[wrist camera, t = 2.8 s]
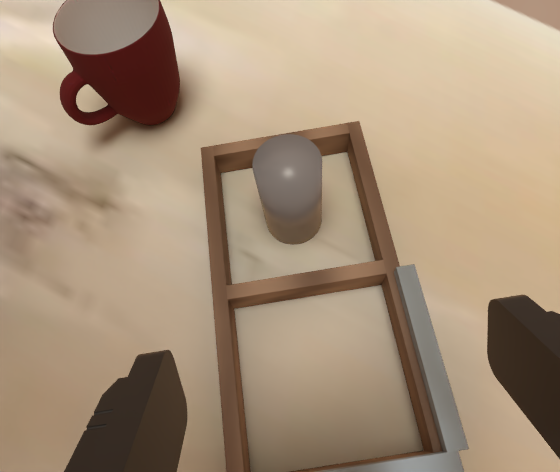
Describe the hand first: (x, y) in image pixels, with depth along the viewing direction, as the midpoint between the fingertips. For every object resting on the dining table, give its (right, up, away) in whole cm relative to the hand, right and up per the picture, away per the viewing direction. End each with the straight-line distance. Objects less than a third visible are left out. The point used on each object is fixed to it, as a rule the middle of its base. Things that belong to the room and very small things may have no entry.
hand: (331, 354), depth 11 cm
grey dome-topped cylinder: (0, +4, +23) cm, 24 cm away
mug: (-14, +14, +29) cm, 35 cm away
